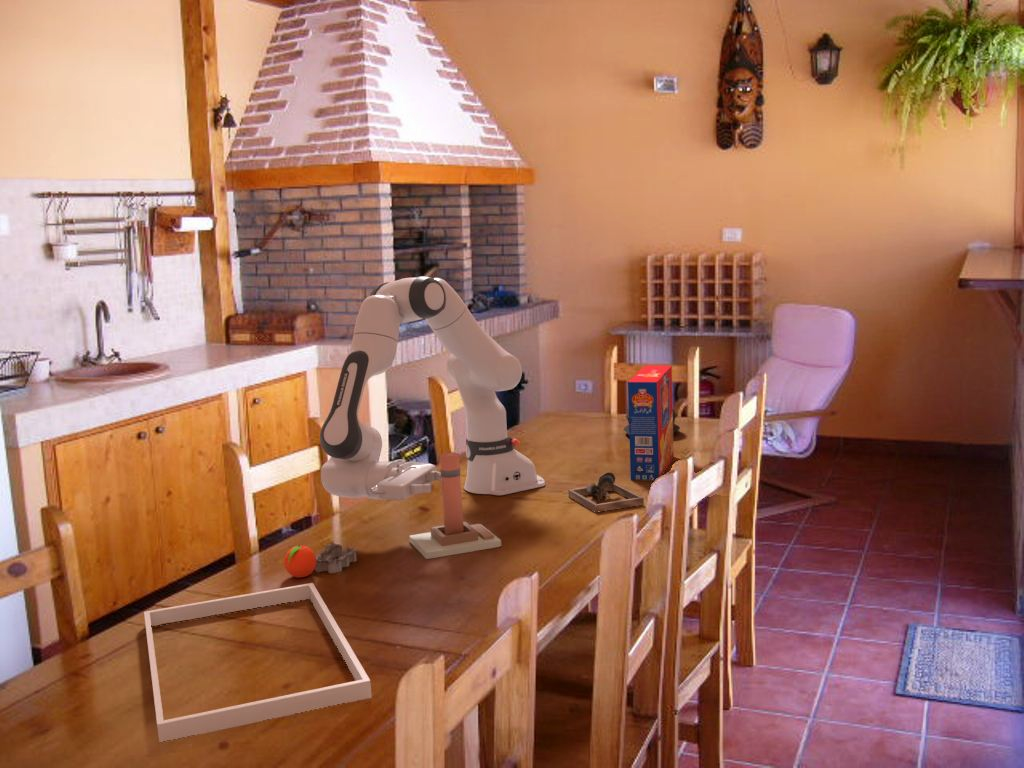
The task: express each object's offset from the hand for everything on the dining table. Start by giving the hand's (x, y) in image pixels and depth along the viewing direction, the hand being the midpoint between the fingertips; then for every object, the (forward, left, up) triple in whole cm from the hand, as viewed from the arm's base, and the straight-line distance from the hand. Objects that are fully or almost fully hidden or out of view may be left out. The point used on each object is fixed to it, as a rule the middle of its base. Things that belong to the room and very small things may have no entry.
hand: (439, 483), depth 246 cm
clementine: (+35, +7, -15) cm, 38 cm away
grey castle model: (+26, +3, -15) cm, 30 cm away
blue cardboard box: (-75, -36, -15) cm, 85 cm away
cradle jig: (-2, +2, -15) cm, 15 cm away
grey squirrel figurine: (-49, -15, -15) cm, 53 cm away
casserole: (-96, -75, -15) cm, 123 cm away
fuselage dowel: (-2, +2, -13) cm, 13 cm away
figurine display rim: (-48, -12, -15) cm, 52 cm away
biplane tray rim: (+51, +45, -15) cm, 69 cm away
